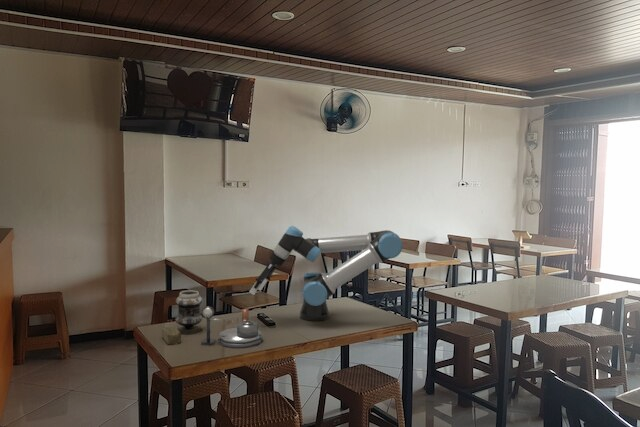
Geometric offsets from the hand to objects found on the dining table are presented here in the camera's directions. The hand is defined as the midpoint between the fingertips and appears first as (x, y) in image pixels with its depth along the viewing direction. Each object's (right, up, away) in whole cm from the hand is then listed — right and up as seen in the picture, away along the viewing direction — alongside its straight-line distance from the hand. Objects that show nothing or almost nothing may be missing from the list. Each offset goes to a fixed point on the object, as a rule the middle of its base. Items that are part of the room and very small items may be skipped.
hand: (254, 291), depth 235 cm
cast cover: (0, -15, -26) cm, 30 cm away
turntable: (-3, -16, -22) cm, 27 cm away
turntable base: (-3, -18, -24) cm, 30 cm away
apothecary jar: (-29, -16, -11) cm, 35 cm away
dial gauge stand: (-15, -18, -27) cm, 36 cm away
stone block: (-33, -18, -25) cm, 45 cm away
